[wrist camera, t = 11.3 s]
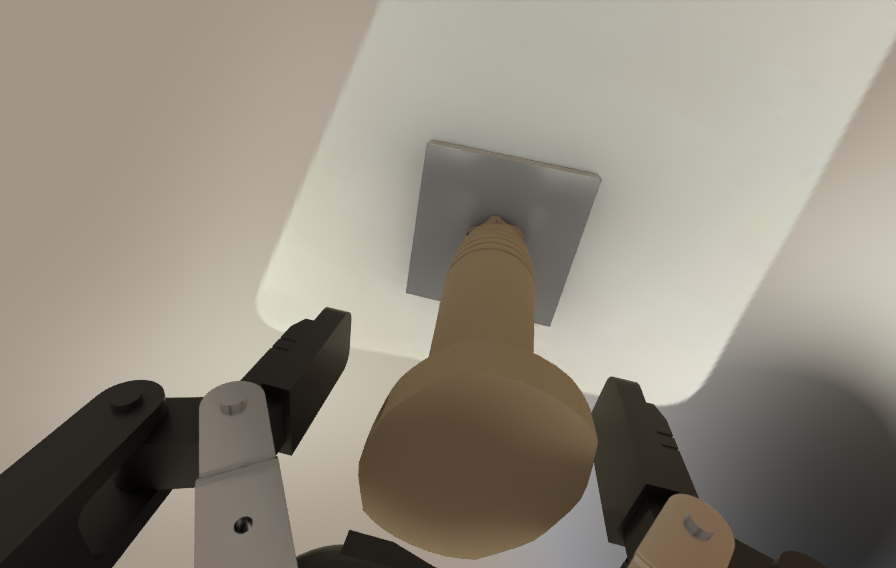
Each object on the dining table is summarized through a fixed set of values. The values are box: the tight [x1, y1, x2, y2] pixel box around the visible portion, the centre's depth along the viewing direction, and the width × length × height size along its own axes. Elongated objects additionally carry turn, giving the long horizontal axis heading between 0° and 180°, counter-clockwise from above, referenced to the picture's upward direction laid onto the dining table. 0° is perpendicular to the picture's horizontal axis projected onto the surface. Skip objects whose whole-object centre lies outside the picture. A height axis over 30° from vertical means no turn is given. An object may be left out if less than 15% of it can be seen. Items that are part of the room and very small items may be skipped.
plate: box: [406, 140, 601, 327], centre depth 23 cm, size 9×9×1 cm
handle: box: [358, 216, 598, 560], centre depth 16 cm, size 5×6×15 cm
